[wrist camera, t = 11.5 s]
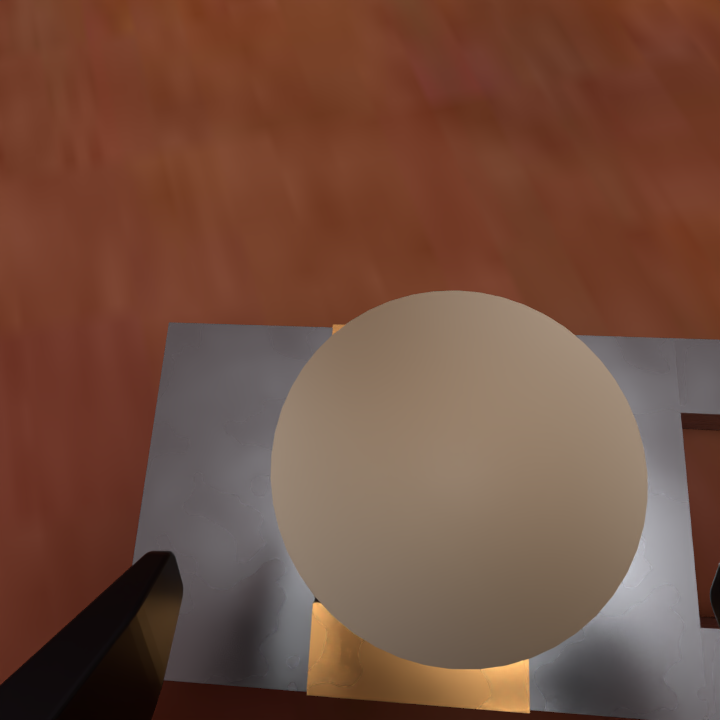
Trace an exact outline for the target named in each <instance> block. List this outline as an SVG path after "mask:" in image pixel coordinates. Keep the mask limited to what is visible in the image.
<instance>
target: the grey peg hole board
mask: <svg viewBox="0 0 720 720" xmlns="http://www.w3.org/2000/svg"><path fill="white" fill-rule="evenodd" d="M343 326H345V325H333V328H326V327H294V326H263V325H231V324H199V323H169V326H168V333H167V340H166V346H165V353H164V359H163V366H162V373H161V379H160V386H159V392H158V399H157V406H156V412H155V419H154V425H153V432H152V439H151V445H150V452H149V458H148V465H147V472H146V478H145V485H144V491H143V498H142V505H141V511H140V518H139V524H138V531H137V538H136V544H135V551H134V557H133V564H135V563H136V562H137V561H138V560H139V559H140V558H141V557H142V556H143V555H145V554H146V553H148V552H149V551H172V552H173V553H174V554H175V557H176V560H177V563H178V567H179V571H180V574H181V578H182V582H183V598H182V603H181V607H180V612H179V616H178V620H177V625H176V629H175V633H174V638H173V642H172V646H171V651H170V655H169V660H168V664H167V668H166V673H165V677H164V680H169V681H181V682H193V683H206V684H218V685H230V686H242V687H255V688H267V689H279V690H291V691H304V692H306V695H312V696H324V697H336V698H348V699H360V700H372V701H385V702H397V703H409V704H421V705H433V706H445V707H458V708H470V709H482V710H494V711H506V712H518V713H530V710H536V711H548V712H560V713H573V714H585V715H597V716H609V717H622V718H634V719H646V720H720V628H719V625H718V623H717V620H716V618H713V617H699V607H698V596H697V585H696V575H695V564H694V553H693V542H692V531H691V520H690V509H689V498H688V487H687V477H686V466H685V455H684V444H683V433H682V429H702V430H720V340H707V339H675V338H643V337H611V336H580V335H575V336H576V337H577V338H579V339H580V340H581V341H582V342H584V343H585V344H586V346H587V347H588V348H589V349H590V350H591V351H592V352H593V353H594V354H595V355H596V356H597V357H598V358H599V359H600V360H601V361H602V363H603V364H604V365H605V367H606V368H607V369H608V371H609V372H610V373H611V375H612V376H613V377H614V379H615V380H616V382H617V384H618V385H619V387H620V389H621V391H622V392H623V394H624V396H625V397H626V399H627V401H628V403H629V406H630V408H631V410H632V413H633V415H634V418H635V420H636V422H637V425H638V429H639V432H640V436H641V440H642V443H643V447H644V452H645V460H646V467H647V481H648V500H647V508H646V515H645V523H644V527H643V531H642V535H641V538H640V542H639V546H638V549H637V552H636V554H635V556H634V559H633V561H632V563H631V566H630V568H629V570H628V573H627V574H626V576H625V578H624V579H623V581H622V582H621V584H620V586H619V587H618V589H617V591H616V592H615V594H614V595H613V597H612V598H611V599H610V600H609V601H608V603H607V604H606V605H605V606H604V607H603V608H602V610H601V611H600V612H599V613H598V614H597V616H595V617H594V618H593V619H592V620H591V621H590V622H589V623H588V624H586V625H585V626H584V627H583V628H582V629H581V630H580V631H579V632H577V633H576V634H574V635H573V636H571V637H570V638H568V639H567V640H565V641H564V642H562V643H561V644H559V645H558V646H556V647H554V648H552V649H550V650H548V651H546V652H544V653H541V654H539V655H537V656H535V657H533V658H530V659H527V660H523V661H520V662H516V663H513V664H510V665H506V666H500V667H493V668H486V669H447V668H440V667H433V666H427V665H423V664H419V663H416V662H412V661H409V660H406V659H402V658H399V657H397V656H395V655H393V654H390V653H388V652H386V651H384V650H382V649H379V648H377V647H375V646H373V645H372V644H370V643H369V642H367V641H365V640H364V639H362V638H361V637H359V636H358V635H356V634H354V633H353V632H351V631H350V630H349V629H348V628H347V627H345V626H344V625H343V624H342V623H341V622H340V621H338V620H337V619H336V618H335V617H334V616H332V615H331V614H330V613H329V611H328V610H327V609H326V608H325V607H324V606H323V605H322V604H321V603H320V602H319V601H318V599H317V598H316V597H315V596H314V595H313V593H312V592H311V591H310V589H309V588H308V586H307V585H306V583H305V582H304V581H303V579H302V578H301V576H300V575H299V573H298V571H297V569H296V567H295V565H294V564H293V562H292V560H291V558H290V556H289V554H288V552H287V550H286V547H285V544H284V541H283V539H282V536H281V533H280V531H279V528H278V523H277V519H276V515H275V510H274V506H273V499H272V488H271V454H272V448H273V441H274V435H275V430H276V427H277V423H278V420H279V416H280V413H281V410H282V407H283V405H284V403H285V400H286V398H287V396H288V393H289V391H290V389H291V387H292V385H293V384H294V382H295V380H296V379H297V377H298V375H299V374H300V372H301V370H302V369H303V367H304V366H305V365H306V363H307V362H308V361H309V360H310V358H311V357H312V356H313V355H314V353H315V352H316V351H317V350H318V349H319V348H320V347H321V346H322V345H323V344H324V343H325V342H326V341H327V340H328V339H329V338H330V337H331V336H332V335H333V334H334V333H336V332H337V331H338V330H339V329H341V328H342V327H343ZM133 564H132V565H133Z"/></svg>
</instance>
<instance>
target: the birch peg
mask: <svg viewBox="0 0 720 720" xmlns="http://www.w3.org/2000/svg"><path fill="white" fill-rule="evenodd" d="M271 488H272V499H273V506H274V510H275V515H276V519H277V523H278V528H279V531H280V533H281V536H282V539H283V541H284V544H285V547H286V550H287V552H288V554H289V556H290V558H291V560H292V562H293V564H294V565H295V567H296V569H297V571H298V573H299V575H300V576H301V578H302V579H303V581H304V582H305V583H306V585H307V586H308V588H309V589H310V591H311V592H312V593H313V595H314V596H315V597H316V598H317V599H318V601H319V602H320V603H321V604H322V605H323V606H324V607H325V608H326V609H327V610H328V611H329V613H330V614H331V615H332V616H334V617H335V618H336V619H337V620H338V621H340V622H341V623H342V624H343V625H344V626H345V627H347V628H348V629H349V630H350V631H351V632H353V633H354V634H356V635H358V636H359V637H361V638H362V639H364V640H365V641H367V642H369V643H370V644H372V645H373V646H375V647H377V648H379V649H382V650H384V651H386V652H388V653H390V654H393V655H395V656H397V657H399V658H402V659H406V660H409V661H412V662H416V663H419V664H423V665H427V666H433V667H440V668H447V669H486V668H493V667H500V666H506V665H510V664H513V663H516V662H520V661H523V660H527V659H530V658H533V657H535V656H537V655H539V654H541V653H544V652H546V651H548V650H550V649H552V648H554V647H556V646H558V645H559V644H561V643H562V642H564V641H565V640H567V639H568V638H570V637H571V636H573V635H574V634H576V633H577V632H579V631H580V630H581V629H582V628H583V627H584V626H585V625H586V624H588V623H589V622H590V621H591V620H592V619H593V618H594V617H595V616H597V614H598V613H599V612H600V611H601V610H602V608H603V607H604V606H605V605H606V604H607V603H608V601H609V600H610V599H611V598H612V597H613V595H614V594H615V592H616V591H617V589H618V587H619V586H620V584H621V582H622V581H623V579H624V578H625V576H626V574H627V573H628V570H629V568H630V566H631V563H632V561H633V559H634V556H635V554H636V552H637V549H638V546H639V542H640V538H641V535H642V531H643V527H644V523H645V515H646V508H647V500H648V481H647V467H646V460H645V452H644V447H643V443H642V440H641V436H640V432H639V429H638V425H637V422H636V420H635V418H634V415H633V413H632V410H631V408H630V406H629V403H628V401H627V399H626V397H625V396H624V394H623V392H622V391H621V389H620V387H619V385H618V384H617V382H616V380H615V379H614V377H613V376H612V375H611V373H610V372H609V371H608V369H607V368H606V367H605V365H604V364H603V363H602V361H601V360H600V359H599V358H598V357H597V356H596V355H595V354H594V353H593V352H592V351H591V350H590V349H589V348H588V347H587V346H586V344H585V343H584V342H582V341H581V340H580V339H579V338H577V337H576V336H575V335H574V334H573V333H571V332H570V331H569V330H568V329H566V328H565V327H564V326H562V325H560V324H559V323H557V322H556V321H554V320H553V319H551V318H549V317H548V316H546V315H544V314H542V313H540V312H538V311H536V310H534V309H532V308H530V307H528V306H526V305H523V304H520V303H517V302H514V301H511V300H509V299H506V298H503V297H498V296H493V295H489V294H484V293H478V292H467V291H434V292H427V293H421V294H415V295H410V296H406V297H403V298H399V299H396V300H392V301H389V302H387V303H385V304H382V305H380V306H378V307H375V308H373V309H371V310H369V311H367V312H365V313H364V314H362V315H360V316H358V317H357V318H355V319H353V320H351V321H350V322H349V323H347V324H346V325H345V326H343V327H342V328H341V329H339V330H338V331H337V332H336V333H334V334H333V335H332V336H331V337H330V338H329V339H328V340H327V341H326V342H325V343H324V344H323V345H322V346H321V347H320V348H319V349H318V350H317V351H316V352H315V353H314V355H313V356H312V357H311V358H310V360H309V361H308V362H307V363H306V365H305V366H304V367H303V369H302V370H301V372H300V374H299V375H298V377H297V379H296V380H295V382H294V384H293V385H292V387H291V389H290V391H289V393H288V396H287V398H286V400H285V403H284V405H283V407H282V410H281V413H280V416H279V420H278V423H277V427H276V430H275V435H274V441H273V448H272V454H271Z"/></svg>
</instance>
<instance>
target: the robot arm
mask: <svg viewBox="0 0 720 720" xmlns="http://www.w3.org/2000/svg"><path fill="white" fill-rule="evenodd" d="M182 598H183V582H182V578H181V574H180V571H179V567H178V563H177V560H176V557H175V554H174V553H173V552H172V551H149V552H148V553H146V554H145V555H143V556H142V557H141V558H140V559H139V560H138V561H137V562H136V563H135V564H133V565H132V566H131V567H130V568H129V569H128V570H127V571H126V572H125V573H124V574H122V575H121V576H120V577H119V578H118V579H117V580H116V581H115V582H114V583H113V584H111V585H110V586H109V587H108V588H107V589H106V590H105V591H104V592H103V593H101V594H100V595H99V596H98V597H97V598H96V599H95V600H94V601H93V602H92V603H90V604H89V605H88V606H87V607H86V608H85V609H84V610H83V611H82V612H81V613H79V614H78V615H77V616H76V617H75V618H74V619H73V620H72V621H71V622H69V623H68V624H67V625H66V626H65V627H64V628H63V629H62V630H61V631H60V632H58V633H57V634H56V635H55V636H54V637H53V638H52V639H51V640H50V641H49V642H47V643H46V644H45V645H44V646H43V647H42V648H41V649H40V650H39V651H37V652H36V653H35V654H34V655H33V656H32V657H31V658H30V659H29V660H28V661H26V662H25V663H24V664H23V665H22V666H21V667H20V668H19V669H18V670H17V671H15V672H14V673H13V674H12V675H11V676H10V677H9V678H8V679H7V680H6V681H4V682H3V683H2V684H1V685H0V720H151V719H152V716H153V713H154V710H155V707H156V704H157V701H158V698H159V695H160V691H161V688H162V684H163V681H164V677H165V673H166V668H167V664H168V660H169V655H170V651H171V646H172V642H173V638H174V633H175V629H176V625H177V620H178V616H179V612H180V607H181V603H182ZM710 601H711V605H712V608H713V611H714V614H715V617H716V620H717V623H718V625H719V628H720V563H719V566H718V569H717V572H716V575H715V578H714V580H713V583H712V586H711V590H710Z"/></svg>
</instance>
